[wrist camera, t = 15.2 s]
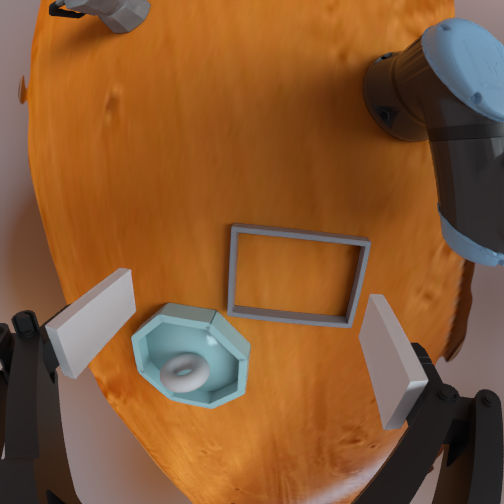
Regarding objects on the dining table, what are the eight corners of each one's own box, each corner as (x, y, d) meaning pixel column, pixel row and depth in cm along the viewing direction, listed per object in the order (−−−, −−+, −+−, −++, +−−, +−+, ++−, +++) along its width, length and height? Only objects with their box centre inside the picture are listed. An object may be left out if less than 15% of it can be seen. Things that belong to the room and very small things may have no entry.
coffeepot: (160, -14, 32) (115, -60, 16) (162, 20, 35) (111, -25, 18) (93, 16, 35) (37, -11, 18) (92, 50, 38) (30, 28, 21)
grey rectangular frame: (367, 237, 44) (371, 242, 41) (348, 320, 49) (351, 327, 47) (234, 222, 46) (231, 226, 43) (229, 308, 51) (227, 315, 48)
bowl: (253, 314, 51) (250, 328, 46) (245, 399, 58) (242, 413, 54) (136, 296, 53) (126, 307, 48) (150, 380, 60) (143, 392, 56)
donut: (172, 362, 56) (155, 394, 46) (167, 350, 55) (149, 381, 45) (217, 362, 54) (205, 397, 45) (212, 349, 53) (199, 384, 44)
